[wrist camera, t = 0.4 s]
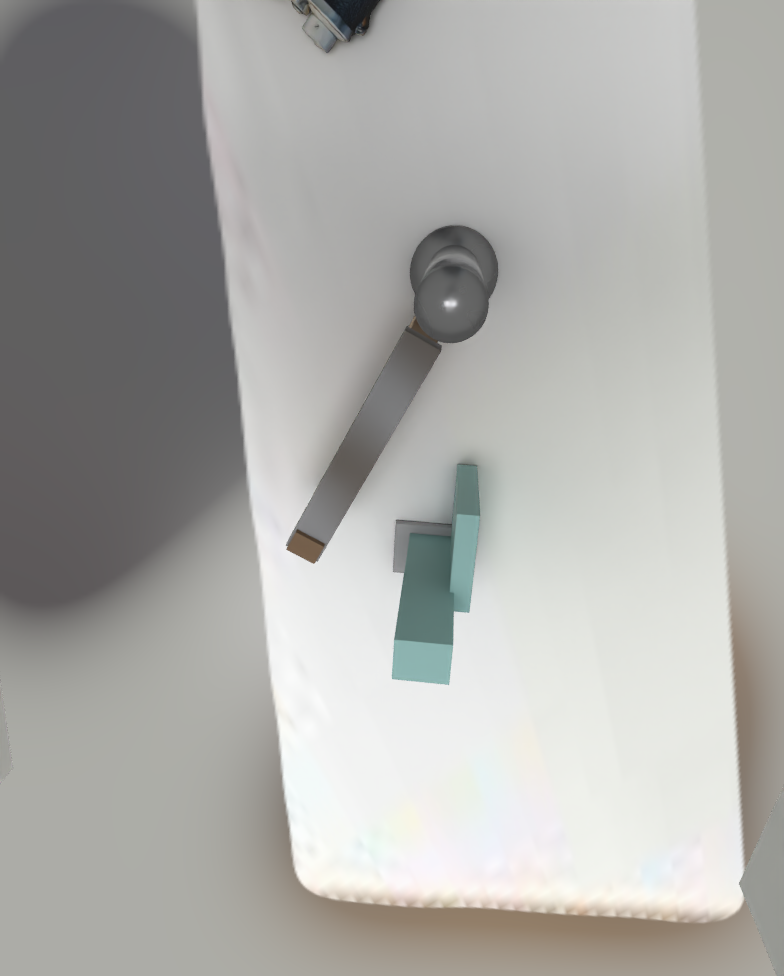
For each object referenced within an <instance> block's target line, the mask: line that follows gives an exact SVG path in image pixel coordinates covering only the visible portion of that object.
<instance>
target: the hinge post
mask: <svg viewBox="0 0 784 976" xmlns="http://www.w3.org/2000/svg"><path fill="white" fill-rule="evenodd" d="M497 277H498V264H497V259H496V256H495V253H494V251H493V249H492V247H491V245H490V244H489V242H488V241H487V240H486V239H485V238H484V237H483V236H482V235H481V234H480V233H478V232H476V231H475V230H473V229H470V228H468V227H464V226H447V227H443V228H440V229H438V230H435V231H434V232H432V233H431V234H429V235H428V236H427V237H426V238H425V239H424V240H423V241H422V242H421V243H420V244H419V246H418V247H417V249H416V251H415V253H414V255H413V258H412V262H411V268H410V278H411V284H412V288H413V290H414V292H415V298H414V313H415V317H416V320H417V322H418V324H419V326H420V327H421V329H422V330H423V331H424V332H425V333H426V334H427V335H428V336H430V337H431V338H433V339H435V340H437V341H440V342H444V343H457V342H461V341H464V340H466V339H468V338H470V337H471V336H473V335H474V334H475V333H476V332H477V331H478V330H479V329H480V328H481V327H482V325H483V323H484V321H485V319H486V317H487V313H488V306H489V302H488V299H489V298H490V296H491V294H492V293H493V290H494V288H495V285H496V282H497Z"/></svg>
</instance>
